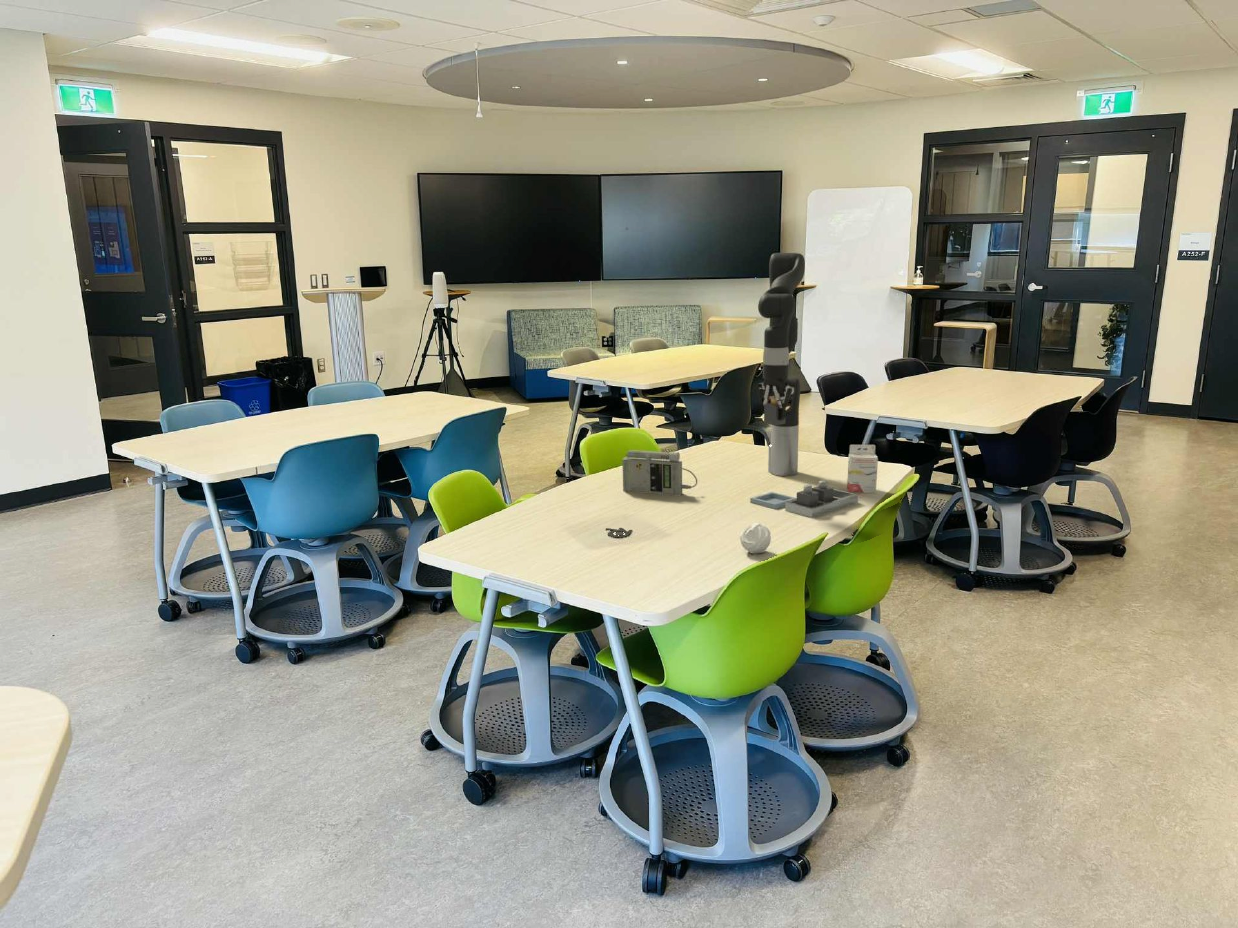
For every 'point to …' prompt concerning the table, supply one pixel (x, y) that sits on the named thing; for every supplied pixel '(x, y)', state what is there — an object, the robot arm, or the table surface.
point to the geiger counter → (653, 473)
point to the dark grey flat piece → (618, 533)
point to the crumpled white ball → (755, 538)
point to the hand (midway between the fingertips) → (774, 418)
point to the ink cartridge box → (862, 469)
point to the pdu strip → (823, 504)
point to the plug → (772, 413)
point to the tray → (771, 500)
